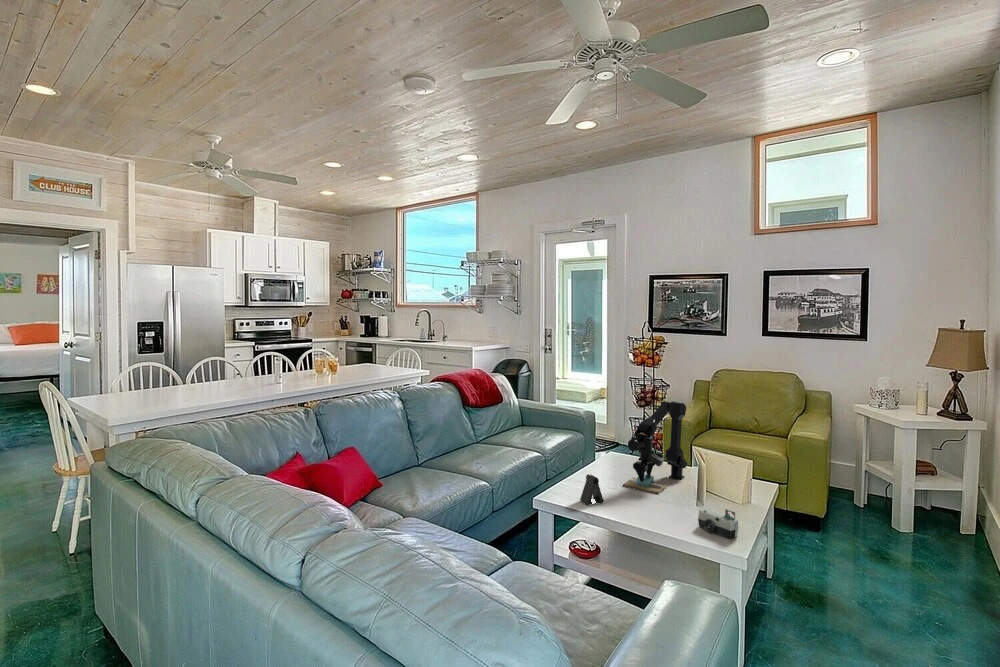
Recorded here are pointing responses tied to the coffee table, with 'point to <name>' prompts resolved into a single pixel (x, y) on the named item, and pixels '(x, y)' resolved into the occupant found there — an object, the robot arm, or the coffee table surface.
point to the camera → (718, 523)
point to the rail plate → (653, 487)
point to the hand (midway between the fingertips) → (645, 479)
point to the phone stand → (591, 490)
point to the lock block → (645, 481)
